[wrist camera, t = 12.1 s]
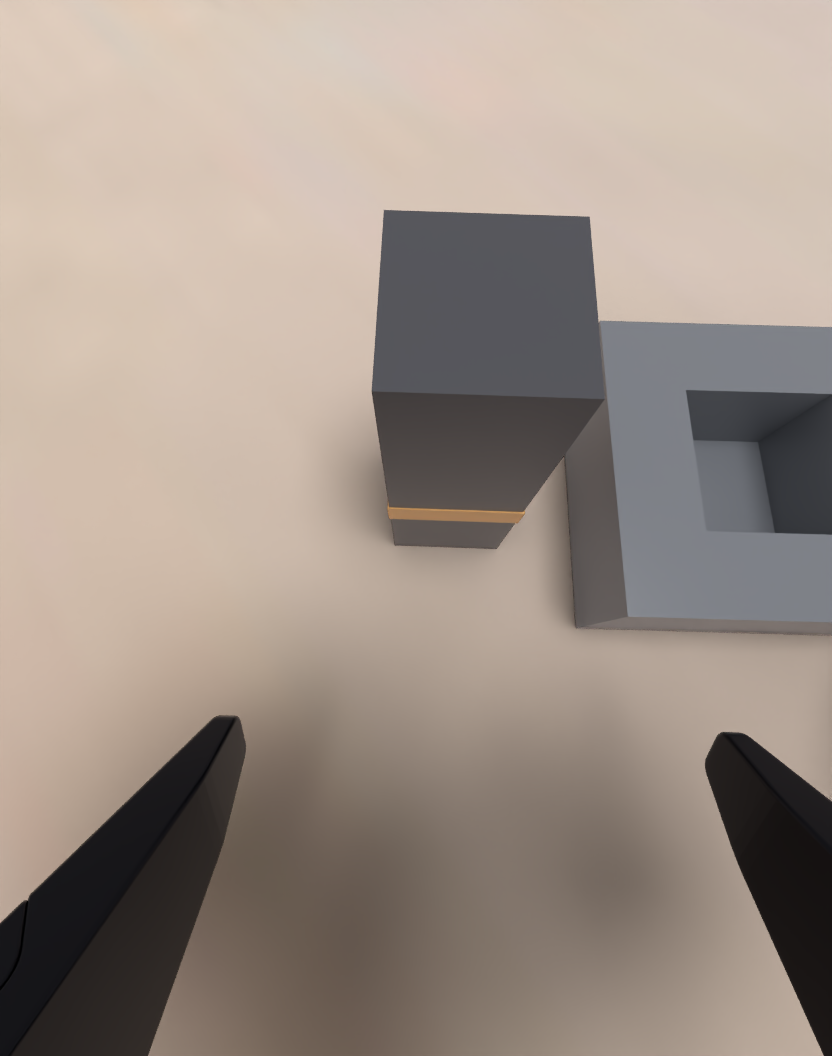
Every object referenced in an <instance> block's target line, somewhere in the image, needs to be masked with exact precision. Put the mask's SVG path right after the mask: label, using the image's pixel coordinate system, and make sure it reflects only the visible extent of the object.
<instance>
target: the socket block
mask: <svg viewBox="0 0 832 1056" xmlns="http://www.w3.org/2000/svg"><path fill="white" fill-rule="evenodd" d="M599 335H600V347H601V359H602V370H603V382H604V394H605V400H604V401H603V402H602V404H601V405H600V407H599V408H598V409H597V411H596V412H595V414H594V415H593V416H592V418H591V419H590V420H589V422H588V423H587V425H586V426H585V427H584V429H583V430H582V431H581V433H580V434H579V436H578V437H577V438H576V440H575V441H574V443H573V444H572V445H571V447H570V448H569V449H568V451H567V452H566V454H565V466H566V482H567V497H568V513H569V529H570V544H571V560H572V576H573V591H574V607H575V623H576V628H586V629H621V630H657V631H692V632H727V633H763V634H798V635H832V327H804V326H768V325H731V324H695V323H659V322H623V321H600V322H599Z"/></svg>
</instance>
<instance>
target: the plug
mask: <svg viewBox="0 0 832 1056" xmlns="http://www.w3.org/2000/svg"><path fill="white" fill-rule="evenodd" d="M372 396H373V403H374V409H375V416H376V423H377V429H378V436H379V443H380V449H381V456H382V463H383V469H384V476H385V483H386V489H387V496H388V508H387V509H388V515H389V519H391V523H392V529H393V536H394V543H395V545H402V546H431V547H460V548H489V549H497V548H498V546H499V545H500V543H501V542H502V541H503V539H504V538H505V536H506V535H507V534H508V532H509V531H510V530H511V528H512V527H513V525H514V524H515V523H518V522H519V521H520V520H521V518H522V517H523V516H524V514H525V509H526V507H527V506H528V505H529V503H530V502H531V501H532V499H533V498H534V496H535V495H536V494H537V492H538V491H539V489H540V488H541V487H542V485H543V484H544V483H545V481H546V480H547V478H548V477H549V476H550V474H551V473H552V472H553V470H554V469H555V467H556V466H557V465H558V463H559V462H560V460H561V459H562V458H563V456H564V455H565V454H566V452H567V451H568V449H569V448H570V447H571V445H572V444H573V443H574V441H575V440H576V438H577V437H578V436H579V434H580V433H581V431H582V430H583V429H584V427H585V426H586V425H587V423H588V422H589V420H590V419H591V418H592V416H593V415H594V414H595V412H596V411H597V409H598V408H599V407H600V405H601V404H602V402H603V401H604V400H605V394H604V382H603V370H602V359H601V347H600V335H599V323H598V311H597V299H596V288H595V276H594V264H593V252H592V240H591V228H590V217H580V216H549V215H518V214H488V213H457V212H426V211H395V210H384V218H383V233H382V247H381V262H380V277H379V292H378V307H377V322H376V336H375V351H374V366H373V381H372Z"/></svg>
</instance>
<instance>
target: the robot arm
mask: <svg viewBox="0 0 832 1056" xmlns="http://www.w3.org/2000/svg"><path fill="white" fill-rule="evenodd" d="M245 752H246V743H245V739H244V734H243V730H242V725H241V721H240V719H239V717H238V716H230V715H219V716H216V717H214V718H213V719H212V720H211V721H210V722H209V723H208V724H207V725H206V726H205V727H203V728H202V729H201V730H200V731H199V732H198V733H197V734H196V735H195V736H194V737H193V738H192V739H191V740H190V741H189V742H188V743H187V744H186V745H185V746H184V747H183V748H182V749H181V750H180V751H179V752H178V753H177V754H175V755H174V756H173V757H172V758H171V759H170V760H169V761H168V762H167V763H166V764H165V765H164V766H163V767H162V768H161V769H160V770H159V771H158V772H157V773H156V774H155V775H154V776H153V777H152V778H151V779H150V780H149V781H147V782H146V783H145V784H144V785H143V786H142V787H141V788H140V789H139V790H138V791H137V792H136V793H135V794H134V795H133V796H132V797H131V798H130V799H129V800H128V801H127V802H126V803H125V804H124V805H123V806H122V807H120V808H119V809H118V810H117V811H116V812H115V813H114V814H113V815H112V816H111V817H110V818H109V819H108V820H107V821H106V822H105V823H104V824H103V825H102V826H101V827H100V828H99V829H98V830H97V831H96V832H95V833H94V834H92V835H91V836H90V837H89V838H88V839H87V840H86V841H85V842H84V843H83V844H82V845H81V846H80V847H79V848H78V849H77V850H76V851H75V852H74V853H73V854H72V855H71V856H70V857H69V858H68V859H67V860H66V861H64V862H63V863H62V864H61V865H60V866H59V867H58V868H57V869H56V870H55V871H54V872H53V873H52V874H51V875H50V876H49V877H48V878H47V879H46V880H45V881H44V882H43V883H42V884H41V885H40V886H39V887H38V888H36V889H35V890H34V891H33V892H32V893H31V894H30V896H29V898H28V901H27V900H25V901H23V902H22V903H21V904H20V905H19V906H18V907H16V908H15V909H14V910H13V911H12V912H11V913H10V914H9V915H8V916H7V917H6V918H5V919H4V920H3V921H2V922H1V923H0V1056H148V1054H149V1051H150V1048H151V1045H152V1042H153V1040H154V1037H155V1034H156V1031H157V1028H158V1026H159V1023H160V1020H161V1017H162V1014H163V1012H164V1009H165V1006H166V1003H167V1000H168V998H169V995H170V992H171V989H172V986H173V984H174V981H175V978H176V975H177V972H178V969H179V967H180V964H181V961H182V958H183V955H184V953H185V950H186V947H187V944H188V941H189V939H190V936H191V933H192V930H193V927H194V925H195V922H196V919H197V916H198V913H199V911H200V908H201V905H202V902H203V899H204V896H205V894H206V891H207V888H208V885H209V882H210V880H211V877H212V874H213V871H214V868H215V866H216V863H217V860H218V857H219V854H220V851H221V848H222V845H223V842H224V838H225V834H226V831H227V827H228V823H229V819H230V815H231V811H232V806H233V802H234V798H235V794H236V790H237V786H238V782H239V778H240V774H241V770H242V766H243V762H244V758H245ZM705 769H706V774H707V777H708V780H709V783H710V786H711V788H712V791H713V794H714V797H715V800H716V803H717V806H718V809H719V812H720V815H721V818H722V820H723V823H724V826H725V829H726V832H727V835H728V838H729V841H730V844H731V847H732V849H733V852H734V855H735V857H736V860H737V862H738V865H739V867H740V869H741V872H742V874H743V876H744V879H745V881H746V883H747V885H748V888H749V890H750V892H751V894H752V897H753V899H754V901H755V903H756V905H757V908H758V910H759V912H760V914H761V917H762V919H763V921H764V923H765V926H766V928H767V930H768V932H769V934H770V937H771V939H772V941H773V943H774V946H775V948H776V950H777V952H778V955H779V957H780V959H781V961H782V963H783V966H784V968H785V970H786V972H787V975H788V977H789V979H790V981H791V984H792V986H793V988H794V990H795V992H796V995H797V997H798V999H799V1001H800V1004H801V1006H802V1008H803V1010H804V1013H805V1015H806V1017H807V1019H808V1022H809V1024H810V1026H811V1028H812V1030H813V1033H814V1035H815V1037H816V1039H817V1042H818V1044H819V1046H820V1048H821V1051H822V1053H823V1055H824V1056H832V801H830V800H829V799H828V798H827V797H825V796H824V795H823V794H821V793H820V792H819V791H818V790H816V789H815V788H814V787H813V786H811V785H810V784H809V783H807V782H806V781H805V780H804V779H802V778H801V777H800V776H799V775H797V774H796V773H795V772H793V771H792V770H791V769H790V768H788V767H787V766H786V765H785V764H783V763H782V762H781V761H779V760H778V759H777V758H776V757H774V756H773V755H772V754H771V753H769V752H768V751H767V750H765V749H764V748H763V747H762V746H760V745H759V744H758V743H757V742H755V741H754V740H753V739H751V738H750V737H749V736H747V735H745V734H743V733H737V732H721V733H720V734H718V735H717V737H716V739H715V741H714V743H713V745H712V747H711V749H710V751H709V753H708V755H707V757H706V760H705Z"/></svg>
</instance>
